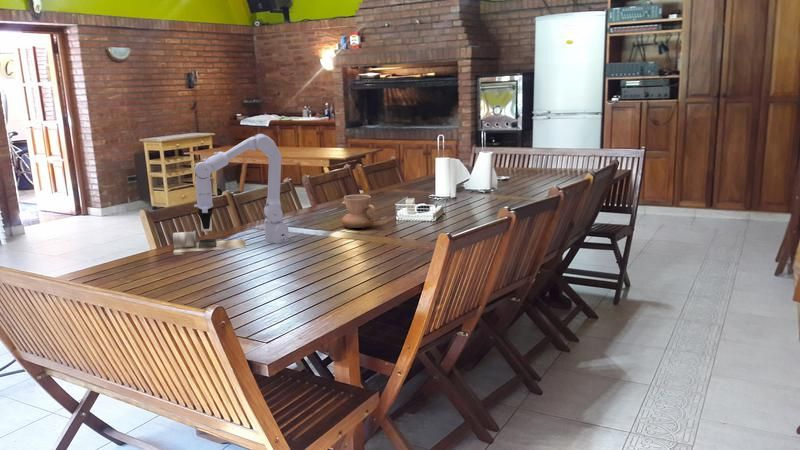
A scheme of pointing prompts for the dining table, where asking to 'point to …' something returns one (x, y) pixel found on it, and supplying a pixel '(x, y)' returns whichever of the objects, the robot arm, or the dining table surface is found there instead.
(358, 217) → the ceramic jug
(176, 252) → the motor mount
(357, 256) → the dining table surface
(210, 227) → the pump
